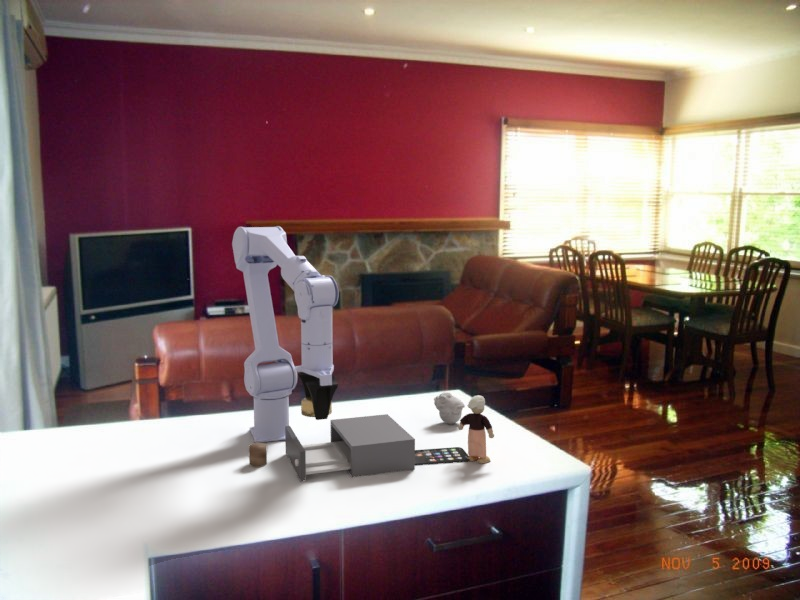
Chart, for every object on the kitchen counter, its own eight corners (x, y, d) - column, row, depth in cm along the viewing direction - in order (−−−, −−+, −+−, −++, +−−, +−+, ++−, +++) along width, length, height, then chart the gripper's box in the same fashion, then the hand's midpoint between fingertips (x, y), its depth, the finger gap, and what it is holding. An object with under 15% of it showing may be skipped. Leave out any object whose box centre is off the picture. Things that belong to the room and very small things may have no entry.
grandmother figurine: (497, 459, 133) (499, 395, 132) (491, 465, 130) (493, 400, 128) (460, 453, 136) (461, 390, 135) (453, 459, 133) (454, 395, 131)
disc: (299, 409, 130) (299, 397, 130) (328, 407, 132) (328, 395, 132) (304, 418, 125) (303, 405, 125) (334, 415, 127) (334, 402, 126)
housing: (330, 447, 139) (330, 419, 138) (387, 441, 143) (387, 414, 142) (352, 477, 124) (352, 446, 123) (414, 469, 128) (414, 439, 127)
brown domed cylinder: (248, 461, 131) (248, 443, 131) (265, 459, 132) (265, 442, 132) (250, 467, 128) (250, 449, 128) (268, 465, 129) (267, 447, 129)
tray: (283, 453, 135) (282, 426, 134) (343, 446, 139) (343, 420, 138) (297, 481, 121) (297, 452, 120) (365, 473, 125) (365, 444, 125)
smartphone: (388, 451, 136) (461, 446, 139) (388, 455, 136) (461, 449, 139) (395, 465, 129) (472, 459, 132) (395, 469, 129) (472, 463, 132)
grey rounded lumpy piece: (435, 418, 159) (436, 388, 158) (465, 420, 157) (466, 390, 156) (431, 426, 153) (431, 395, 152) (463, 428, 151) (463, 397, 150)
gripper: (288, 336, 132) (289, 405, 134) (303, 351, 119) (304, 428, 120) (324, 334, 134) (324, 401, 136) (343, 349, 121) (343, 424, 123)
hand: (317, 414), depth 128 cm, fingers closed on disc, 6 cm apart
